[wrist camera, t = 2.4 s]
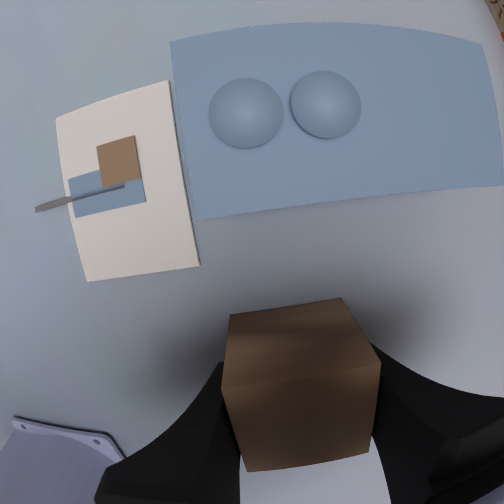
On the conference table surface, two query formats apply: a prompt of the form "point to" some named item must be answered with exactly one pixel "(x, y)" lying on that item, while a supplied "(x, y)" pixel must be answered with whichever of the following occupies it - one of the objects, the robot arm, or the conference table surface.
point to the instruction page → (126, 185)
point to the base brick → (331, 115)
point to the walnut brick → (299, 385)
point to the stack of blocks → (497, 13)
